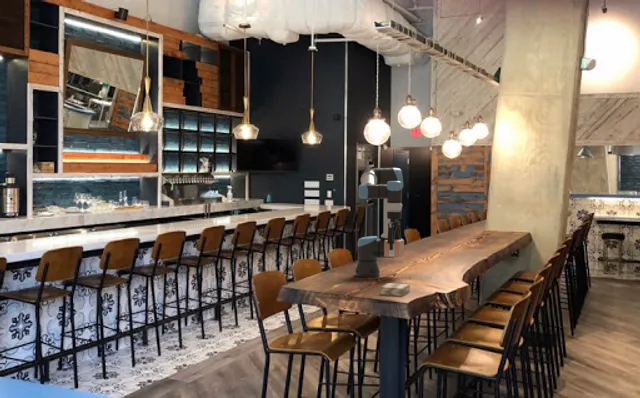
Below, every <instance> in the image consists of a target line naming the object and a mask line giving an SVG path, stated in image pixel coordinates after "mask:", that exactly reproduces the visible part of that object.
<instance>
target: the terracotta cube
mask: <svg viewBox="0 0 640 398" xmlns="http://www.w3.org/2000/svg"><path fill="white" fill-rule="evenodd" d="M404 255H405V239H403V240H394V257H399V258H401V257H403V256H404ZM384 256H386V257H393V256H389V244H388V243H387V240H385V241H384Z"/></svg>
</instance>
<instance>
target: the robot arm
mask: <svg viewBox="0 0 640 398" xmlns="http://www.w3.org/2000/svg"><path fill="white" fill-rule="evenodd" d="M403 188H404V177H403V172H402V169H401V168H399V167H374V168H373V167H372V168H370V169H368V170H366V171H364V172H363V173H362V174H361V177H360V184H359V185H358V198H359V199H364V200H365V199H366V200H368V199H371V200H373V199H374V200H375V199H376V200H379V199H380V200H381V199H382V200H383V233H382V234H381V235H380V238H378V236H377V235H371V236H363V237H360V238H359V239H357V240H358V241H357V264H356V266H355V270H354V276H355V277H360V278H375V277H377V278H378V277H380V276H381V270H380V267H379V264H378V259H398V258H400V257H394V240H404V239H403V238H402V235H401V234H402V233H401V221H399V220H401V219H402V217H403V216H402V215H403V212H402V208H403V206H404V205H403V203H402V199H403V198H402V197H403ZM385 240H387V243H388V244H389V256H393V257H386V256H384V241H385Z"/></svg>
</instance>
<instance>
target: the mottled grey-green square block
mask: <svg viewBox="0 0 640 398" xmlns="http://www.w3.org/2000/svg"><path fill="white" fill-rule="evenodd" d="M410 289H411V285H410V284H407V283H394V282H393V283H390V282H387V283H385V284H383V285H381V286H380V295H385V294H386V295H387V296H398V297H404V296H406V295H407V294H409V293H410V292H411V291H410ZM408 292H409V293H408ZM405 294H406V295H405Z"/></svg>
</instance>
